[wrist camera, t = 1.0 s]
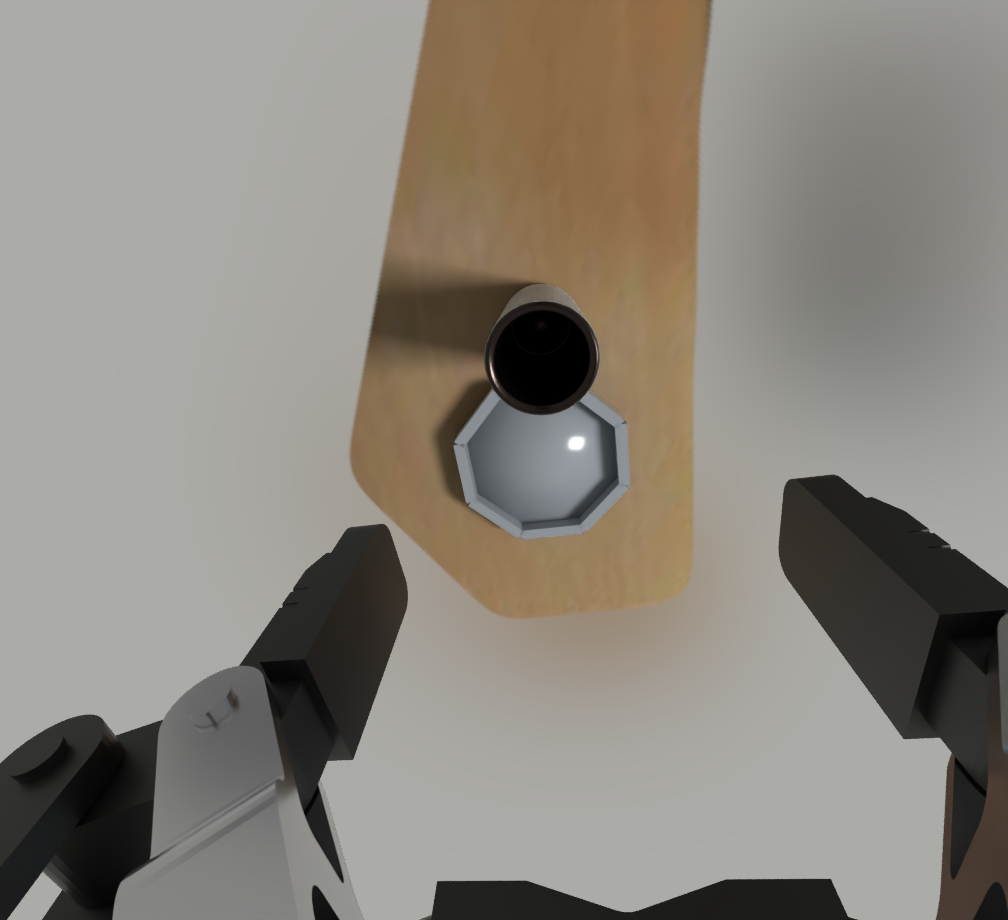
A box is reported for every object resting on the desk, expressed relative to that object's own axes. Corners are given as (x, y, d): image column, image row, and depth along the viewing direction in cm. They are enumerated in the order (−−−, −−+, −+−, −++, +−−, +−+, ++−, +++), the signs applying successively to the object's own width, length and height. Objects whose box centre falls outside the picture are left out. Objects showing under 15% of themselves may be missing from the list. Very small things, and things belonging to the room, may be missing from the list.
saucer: (446, 389, 30) (442, 395, 28) (619, 364, 28) (623, 370, 27) (477, 533, 34) (475, 544, 33) (629, 517, 33) (632, 528, 31)
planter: (594, 332, 28) (622, 374, 18) (531, 376, 29) (527, 437, 20) (550, 265, 26) (557, 274, 17) (487, 315, 28) (460, 348, 18)
